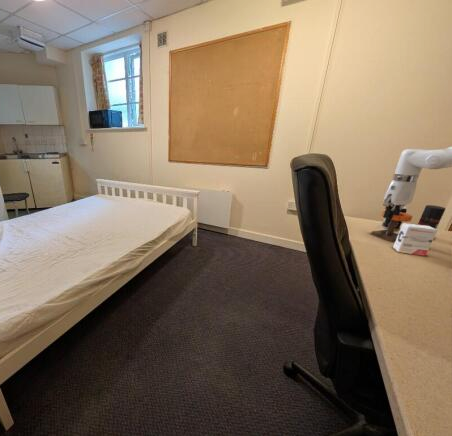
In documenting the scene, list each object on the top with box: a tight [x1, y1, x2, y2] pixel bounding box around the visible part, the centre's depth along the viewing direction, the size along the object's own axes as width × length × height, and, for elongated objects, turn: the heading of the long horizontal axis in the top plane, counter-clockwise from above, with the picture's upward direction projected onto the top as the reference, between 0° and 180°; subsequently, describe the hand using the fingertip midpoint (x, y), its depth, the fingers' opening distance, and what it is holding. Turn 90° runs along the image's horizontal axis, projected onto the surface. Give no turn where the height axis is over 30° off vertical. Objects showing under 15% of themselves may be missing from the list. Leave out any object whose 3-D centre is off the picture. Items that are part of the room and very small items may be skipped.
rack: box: [370, 220, 399, 243], centre depth 105 cm, size 9×9×10 cm
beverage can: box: [381, 205, 408, 231], centre depth 114 cm, size 7×7×12 cm
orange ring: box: [381, 210, 413, 223], centre depth 102 cm, size 10×10×2 cm
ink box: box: [392, 222, 438, 257], centre depth 91 cm, size 8×5×12 cm, turn 66°
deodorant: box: [417, 204, 446, 230], centre depth 104 cm, size 6×6×15 cm
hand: (390, 217), depth 102 cm, fingers closed on orange ring, 2 cm apart
